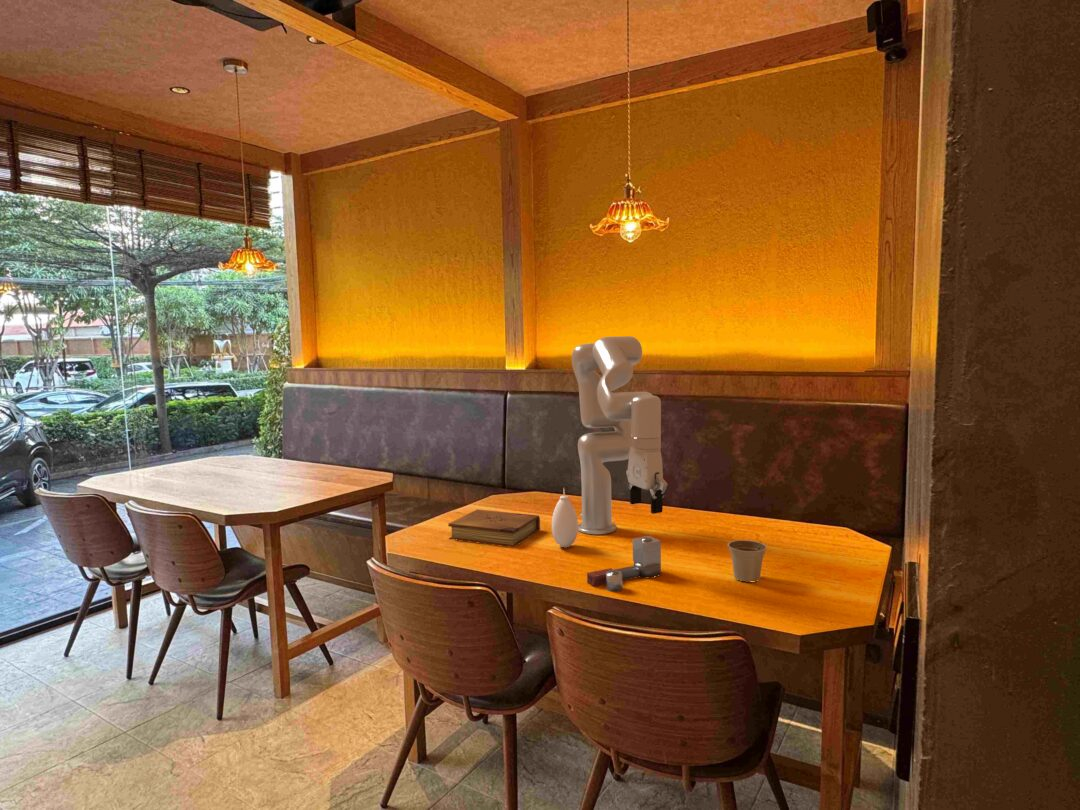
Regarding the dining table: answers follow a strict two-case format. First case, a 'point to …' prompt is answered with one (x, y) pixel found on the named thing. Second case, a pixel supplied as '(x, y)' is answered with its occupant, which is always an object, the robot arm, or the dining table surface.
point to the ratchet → (624, 573)
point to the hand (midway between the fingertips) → (645, 508)
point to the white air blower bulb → (564, 522)
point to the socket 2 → (646, 551)
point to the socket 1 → (614, 581)
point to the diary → (495, 527)
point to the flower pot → (747, 559)
